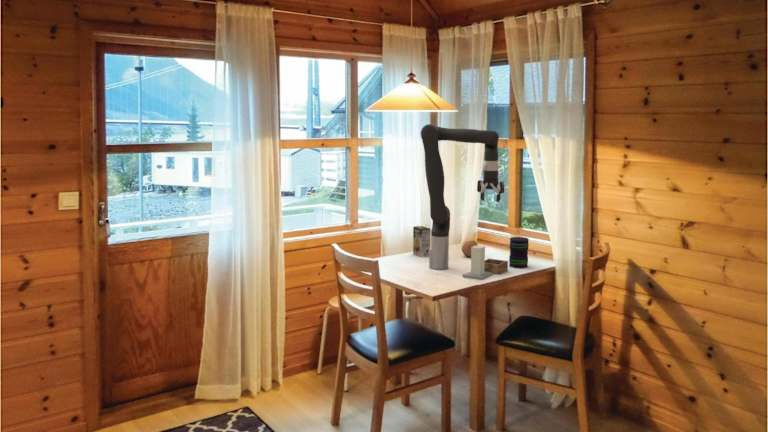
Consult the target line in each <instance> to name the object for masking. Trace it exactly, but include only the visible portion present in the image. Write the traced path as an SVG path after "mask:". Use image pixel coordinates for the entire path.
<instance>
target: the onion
mask: <svg viewBox="0 0 768 432" xmlns="http://www.w3.org/2000/svg"><path fill="white" fill-rule="evenodd" d="M473 246H479V245H478V242H476V241H474V240H471V241H470V240H469V241H466V242H464V243H463V244H462V246H461V252H462V253H463V255H464V256H465V257H467V258H471V247H473Z"/></svg>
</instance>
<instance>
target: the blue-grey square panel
mask: <svg viewBox="0 0 768 432" xmlns="http://www.w3.org/2000/svg"><path fill="white" fill-rule="evenodd" d="M492 275H493V274H492V272H485V271H484V274H482V275H475V274H471V270H470V271H468V272H466V273H464V274H462V277H463V278H466V279H472V280H479V281H480V280H485V279H486V278H488V277H491V276H492Z"/></svg>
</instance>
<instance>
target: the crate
mask: <svg viewBox="0 0 768 432" xmlns="http://www.w3.org/2000/svg"><path fill="white" fill-rule="evenodd" d="M508 261H509V260H501V259H494V258H487V259H486V260H485V265H484V271H485V272H492V275H493V274H494V275H501V274H504V273H505V272H507V271H509V270H508V267H509V262H508Z"/></svg>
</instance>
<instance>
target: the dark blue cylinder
mask: <svg viewBox="0 0 768 432" xmlns="http://www.w3.org/2000/svg"><path fill="white" fill-rule="evenodd" d="M529 241H530V240H529V238H528V237H523V236H513V237H510V238H509V259H508V261H509V262H508V267H509V268H514V269H526V268H528V267H529V266H528V263H529V256H528V254H529V253H528V251H529V245H530V244H529Z"/></svg>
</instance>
